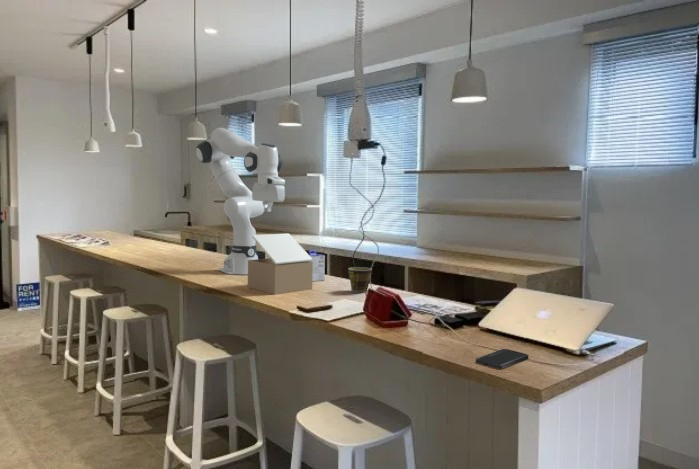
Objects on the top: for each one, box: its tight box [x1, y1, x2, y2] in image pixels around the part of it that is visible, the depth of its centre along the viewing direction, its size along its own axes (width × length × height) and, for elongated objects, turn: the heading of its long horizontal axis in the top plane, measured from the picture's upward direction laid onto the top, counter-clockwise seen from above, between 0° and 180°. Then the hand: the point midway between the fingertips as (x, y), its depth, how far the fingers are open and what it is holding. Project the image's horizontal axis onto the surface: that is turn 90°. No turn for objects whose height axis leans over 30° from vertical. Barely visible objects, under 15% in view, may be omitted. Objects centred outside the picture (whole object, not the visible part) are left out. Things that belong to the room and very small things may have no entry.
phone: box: [475, 348, 529, 370], centre depth 144 cm, size 8×1×15 cm
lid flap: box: [252, 233, 313, 264], centre depth 235 cm, size 20×20×1 cm
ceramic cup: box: [347, 266, 372, 294], centre depth 232 cm, size 13×10×10 cm
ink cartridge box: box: [308, 249, 326, 282], centre depth 259 cm, size 10×6×14 cm, turn 126°
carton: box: [247, 257, 313, 295], centre depth 237 cm, size 20×20×12 cm
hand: (267, 211), depth 242 cm, fingers closed
